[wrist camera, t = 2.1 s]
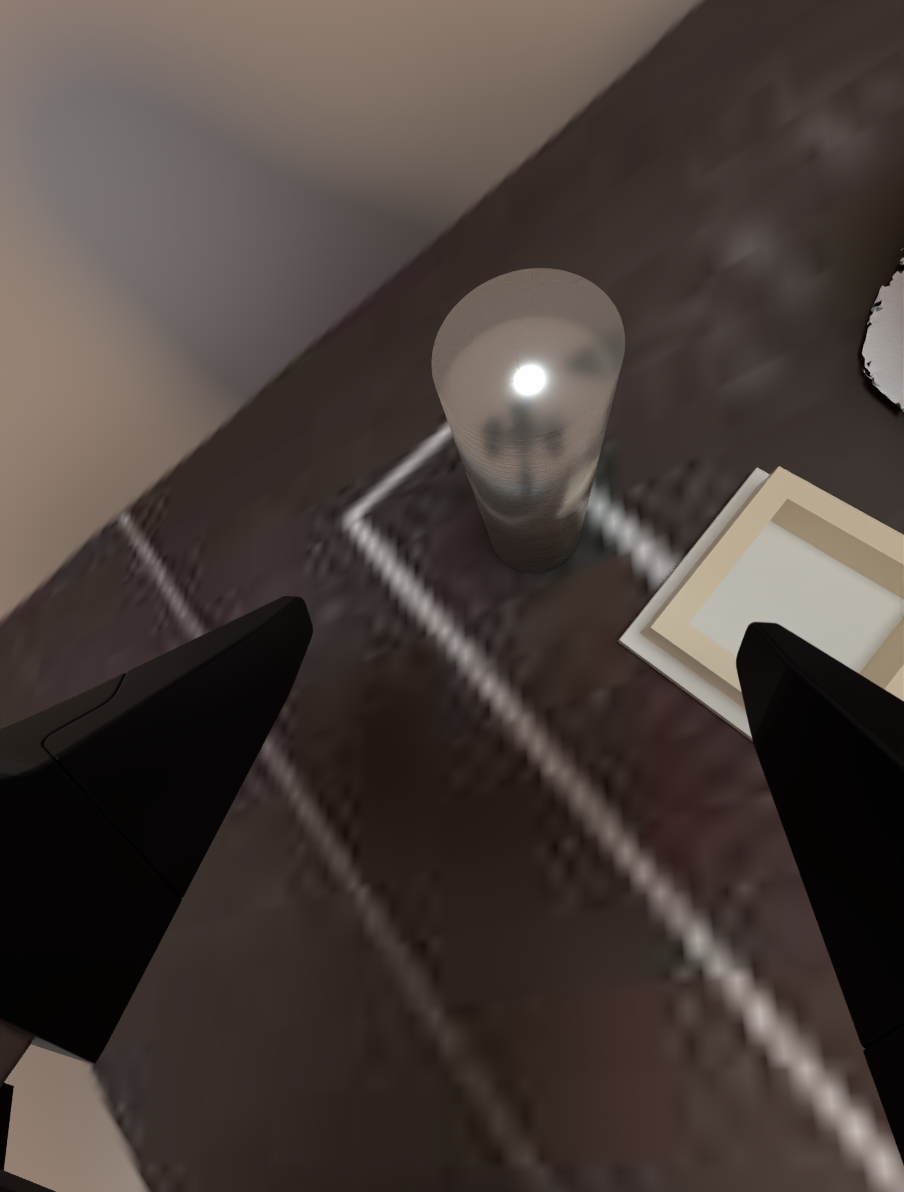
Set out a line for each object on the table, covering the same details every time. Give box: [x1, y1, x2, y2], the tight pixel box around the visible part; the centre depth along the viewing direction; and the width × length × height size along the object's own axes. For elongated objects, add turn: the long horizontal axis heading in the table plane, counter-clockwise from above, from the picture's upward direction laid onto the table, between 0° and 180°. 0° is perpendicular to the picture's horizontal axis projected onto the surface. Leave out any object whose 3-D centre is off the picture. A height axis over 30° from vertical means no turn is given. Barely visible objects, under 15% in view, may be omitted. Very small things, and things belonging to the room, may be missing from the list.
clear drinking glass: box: [432, 268, 625, 573], centre depth 16 cm, size 4×4×12 cm
